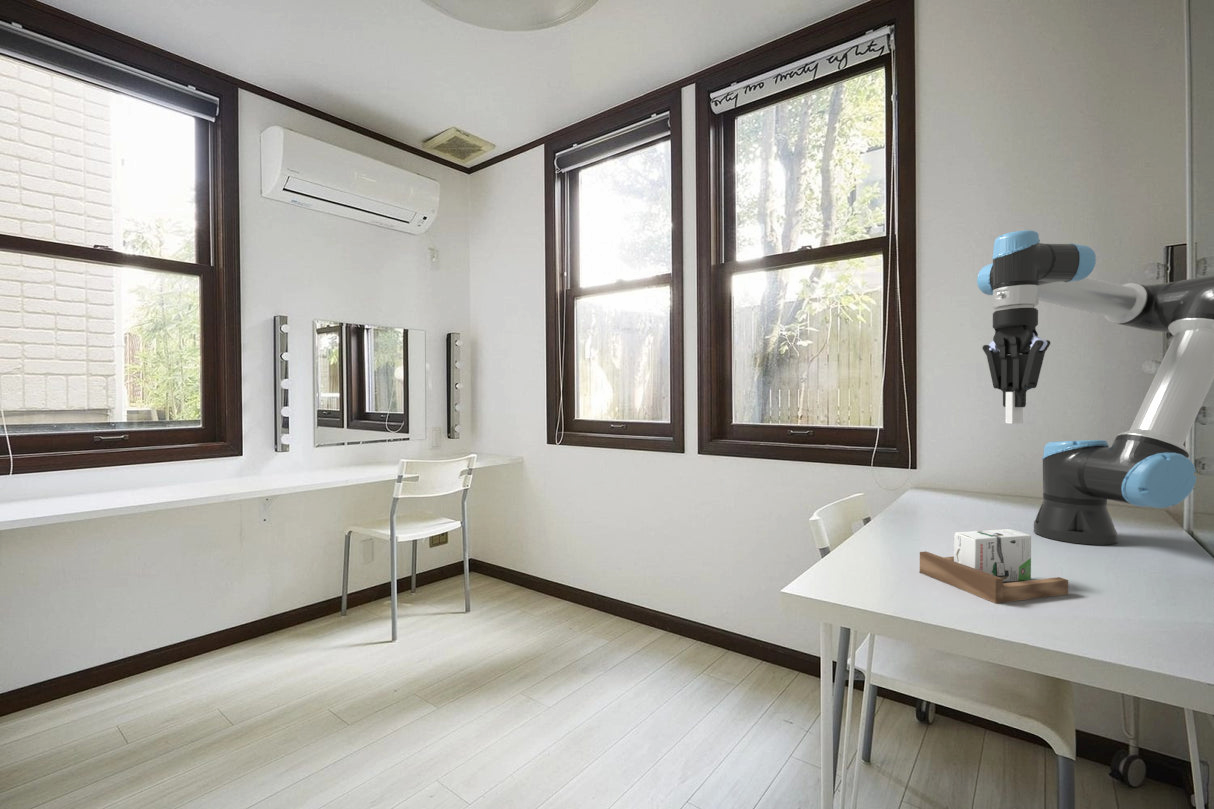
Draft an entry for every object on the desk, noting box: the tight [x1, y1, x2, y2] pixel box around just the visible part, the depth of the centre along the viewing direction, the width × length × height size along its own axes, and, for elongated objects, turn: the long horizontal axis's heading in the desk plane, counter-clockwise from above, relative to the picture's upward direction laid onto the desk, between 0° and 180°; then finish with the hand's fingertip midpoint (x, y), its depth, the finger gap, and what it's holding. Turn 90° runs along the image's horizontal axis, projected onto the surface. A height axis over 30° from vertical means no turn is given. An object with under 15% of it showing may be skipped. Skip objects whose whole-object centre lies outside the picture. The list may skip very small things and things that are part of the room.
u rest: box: [919, 551, 1069, 604], centre depth 100 cm, size 16×16×4 cm
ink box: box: [953, 528, 1032, 582], centre depth 101 cm, size 9×5×12 cm
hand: (1014, 423), depth 113 cm, fingers closed
